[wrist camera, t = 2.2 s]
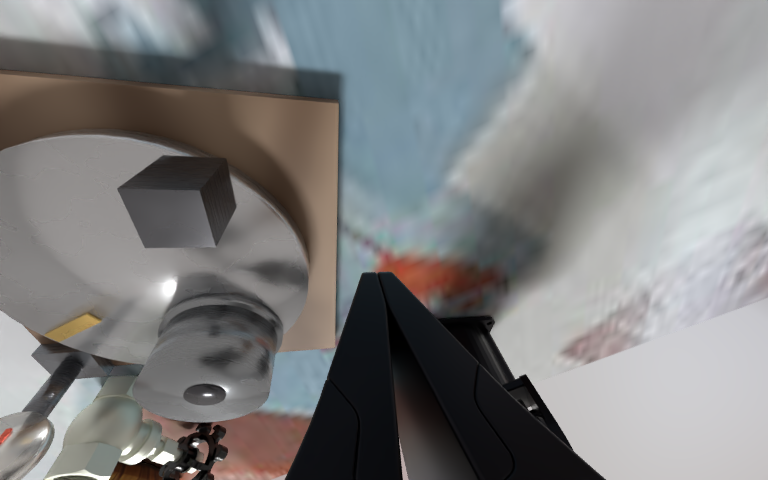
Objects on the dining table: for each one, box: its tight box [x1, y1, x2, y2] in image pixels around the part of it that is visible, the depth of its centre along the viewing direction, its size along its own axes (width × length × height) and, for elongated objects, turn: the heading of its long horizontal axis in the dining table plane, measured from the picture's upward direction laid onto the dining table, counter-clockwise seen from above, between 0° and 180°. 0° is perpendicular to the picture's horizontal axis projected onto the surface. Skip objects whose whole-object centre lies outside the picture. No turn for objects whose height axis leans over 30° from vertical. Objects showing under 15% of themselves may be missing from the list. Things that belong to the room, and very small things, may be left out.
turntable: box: [0, 129, 309, 365], centre depth 15 cm, size 16×16×5 cm
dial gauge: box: [0, 343, 114, 480], centre depth 16 cm, size 4×3×8 cm
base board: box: [0, 69, 339, 366], centre depth 17 cm, size 19×19×1 cm
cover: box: [132, 293, 284, 422], centre depth 17 cm, size 7×7×4 cm
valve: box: [43, 375, 228, 480], centre depth 24 cm, size 7×7×12 cm
